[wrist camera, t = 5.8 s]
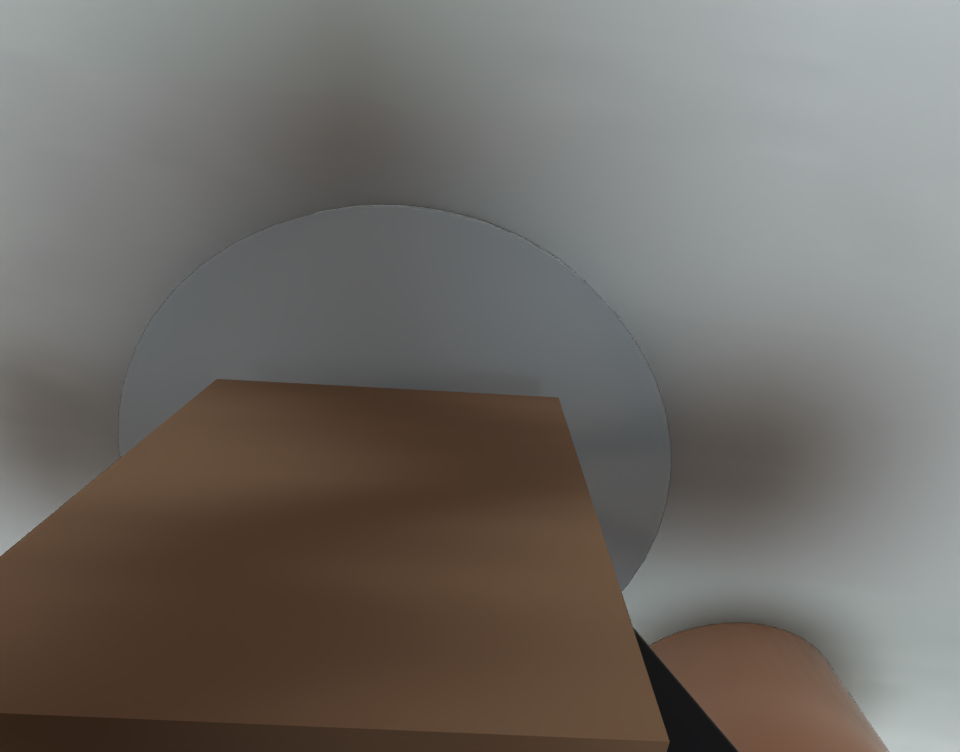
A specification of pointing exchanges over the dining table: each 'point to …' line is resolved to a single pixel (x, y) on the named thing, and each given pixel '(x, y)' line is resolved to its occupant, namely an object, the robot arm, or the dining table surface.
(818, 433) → the dining table surface
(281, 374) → the disc
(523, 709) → the walnut block
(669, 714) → the robot arm
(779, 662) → the terracotta lidded jar
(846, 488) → the dining table surface
